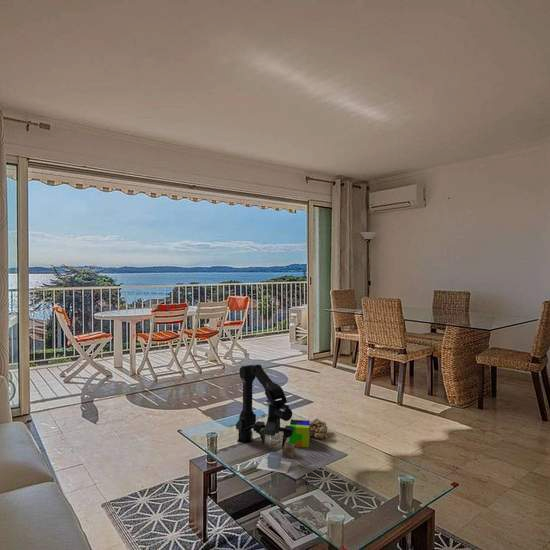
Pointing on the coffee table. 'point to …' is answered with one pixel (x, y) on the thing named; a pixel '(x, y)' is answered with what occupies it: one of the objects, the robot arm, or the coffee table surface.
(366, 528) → the coffee table surface
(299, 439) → the puzzle toy
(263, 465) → the letter
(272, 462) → the blue cube
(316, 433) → the mineral formation
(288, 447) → the walnut block
